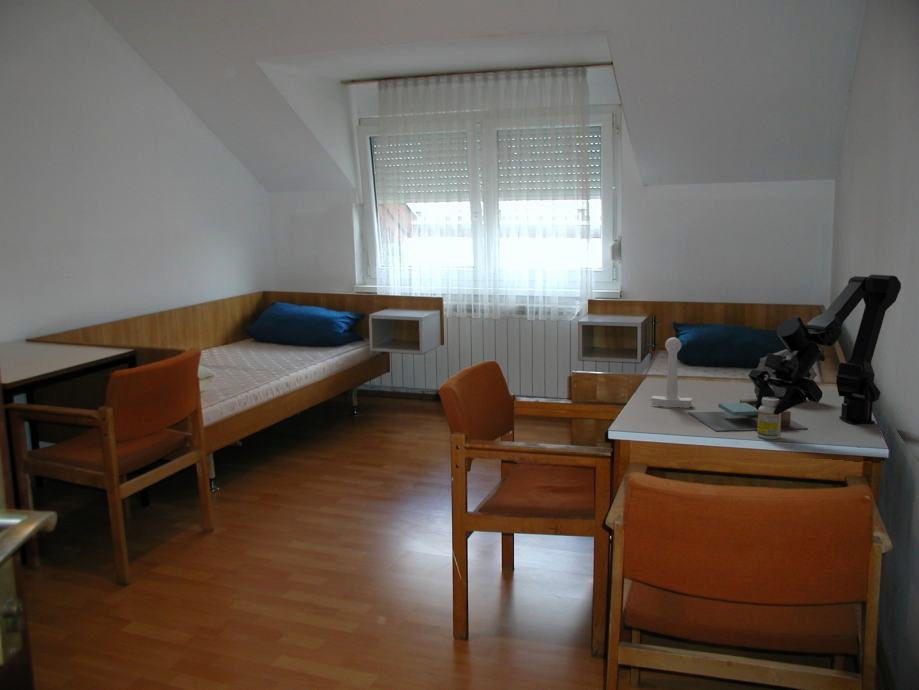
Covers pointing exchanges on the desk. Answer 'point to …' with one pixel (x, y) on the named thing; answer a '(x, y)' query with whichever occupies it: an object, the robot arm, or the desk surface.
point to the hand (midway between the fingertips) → (765, 411)
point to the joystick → (672, 380)
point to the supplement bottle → (769, 419)
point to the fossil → (777, 390)
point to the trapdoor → (739, 408)
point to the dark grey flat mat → (741, 420)
